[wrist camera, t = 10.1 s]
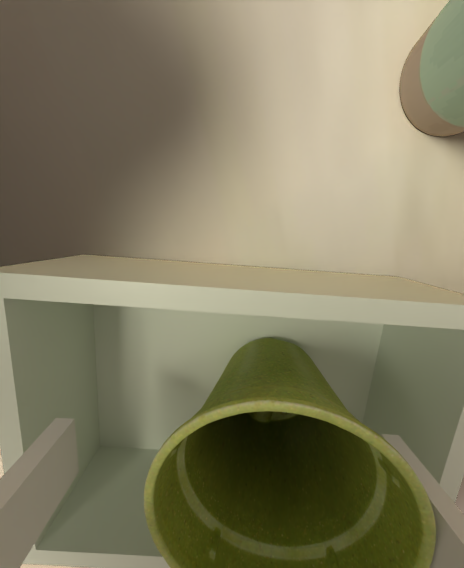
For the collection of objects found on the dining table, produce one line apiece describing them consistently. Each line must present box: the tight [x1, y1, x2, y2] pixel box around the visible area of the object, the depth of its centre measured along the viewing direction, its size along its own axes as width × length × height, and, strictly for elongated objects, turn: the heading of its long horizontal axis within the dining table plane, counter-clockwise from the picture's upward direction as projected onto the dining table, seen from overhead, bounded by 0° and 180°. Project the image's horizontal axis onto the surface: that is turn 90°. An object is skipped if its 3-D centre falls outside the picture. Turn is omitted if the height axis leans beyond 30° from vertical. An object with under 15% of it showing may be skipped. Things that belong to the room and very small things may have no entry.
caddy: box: [0, 254, 464, 568], centre depth 14 cm, size 21×15×7 cm
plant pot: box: [144, 338, 436, 568], centre depth 12 cm, size 9×9×9 cm
